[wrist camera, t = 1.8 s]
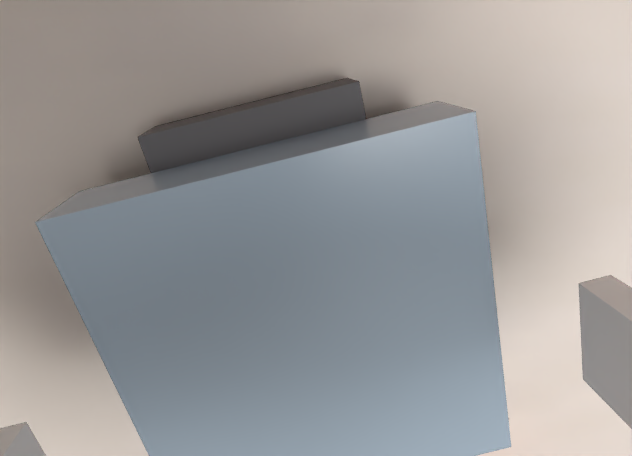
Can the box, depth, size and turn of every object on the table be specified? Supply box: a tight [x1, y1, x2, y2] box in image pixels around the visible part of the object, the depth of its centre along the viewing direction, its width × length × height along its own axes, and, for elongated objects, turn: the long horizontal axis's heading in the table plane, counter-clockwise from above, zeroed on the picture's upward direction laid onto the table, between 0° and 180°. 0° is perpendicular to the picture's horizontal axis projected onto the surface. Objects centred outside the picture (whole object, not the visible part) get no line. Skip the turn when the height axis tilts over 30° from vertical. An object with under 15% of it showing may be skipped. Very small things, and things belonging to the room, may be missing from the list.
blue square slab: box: [35, 101, 511, 456], centre depth 13 cm, size 10×10×2 cm
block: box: [138, 78, 366, 173], centre depth 15 cm, size 12×6×2 cm, turn 13°
